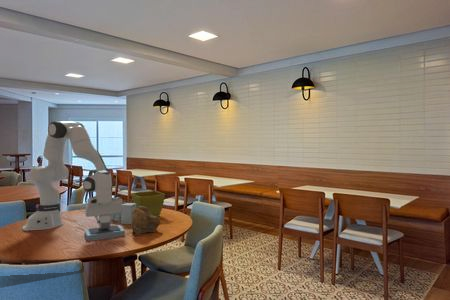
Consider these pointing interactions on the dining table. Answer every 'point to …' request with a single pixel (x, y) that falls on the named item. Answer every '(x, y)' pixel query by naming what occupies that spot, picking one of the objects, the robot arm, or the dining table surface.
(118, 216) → the light bulb box
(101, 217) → the block
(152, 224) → the rough brown rock
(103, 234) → the grey shallow rectangular tray
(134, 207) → the supplement box
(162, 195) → the flower pot
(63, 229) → the dining table surface
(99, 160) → the robot arm
